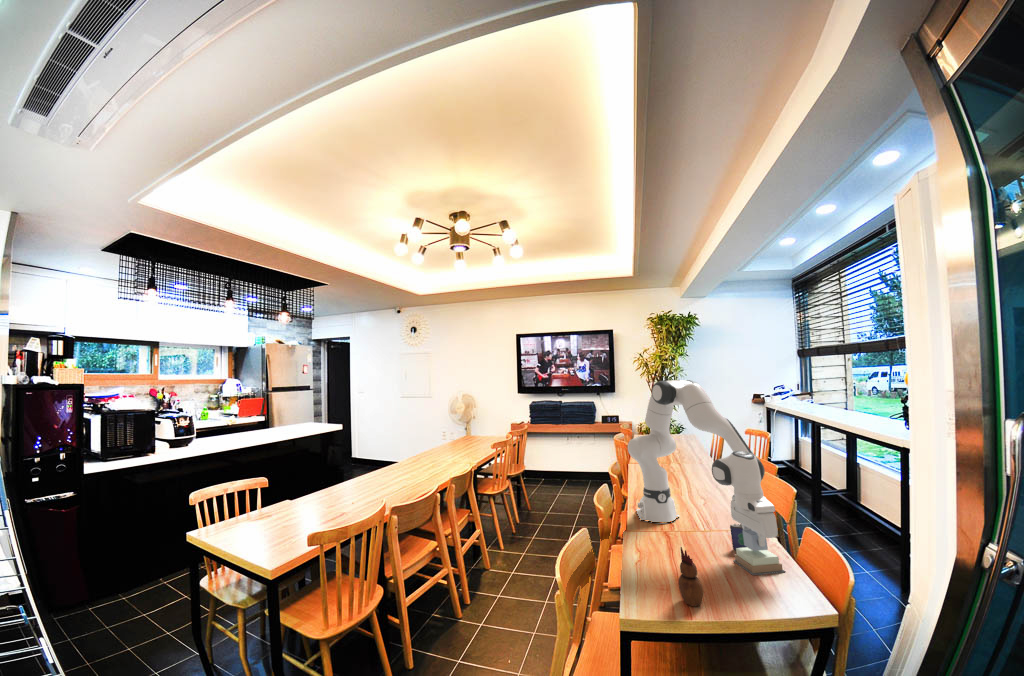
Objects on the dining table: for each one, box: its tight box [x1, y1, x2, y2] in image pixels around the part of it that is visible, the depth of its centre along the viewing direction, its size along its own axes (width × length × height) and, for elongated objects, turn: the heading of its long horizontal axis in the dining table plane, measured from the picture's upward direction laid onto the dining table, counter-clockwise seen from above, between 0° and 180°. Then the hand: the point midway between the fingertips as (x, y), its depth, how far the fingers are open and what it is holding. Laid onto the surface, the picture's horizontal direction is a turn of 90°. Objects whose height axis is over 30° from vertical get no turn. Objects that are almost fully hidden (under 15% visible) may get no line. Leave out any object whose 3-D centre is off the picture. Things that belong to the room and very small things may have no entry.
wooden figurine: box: [678, 546, 704, 607], centre depth 118 cm, size 7×6×15 cm
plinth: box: [734, 547, 784, 573], centre depth 137 cm, size 10×10×4 cm
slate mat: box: [732, 559, 786, 576], centre depth 137 cm, size 11×11×1 cm
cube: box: [742, 530, 769, 551], centre depth 138 cm, size 5×5×5 cm
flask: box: [729, 523, 751, 552], centre depth 150 cm, size 9×3×11 cm, turn 68°
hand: (755, 542), depth 138 cm, fingers closed on cube, 5 cm apart
